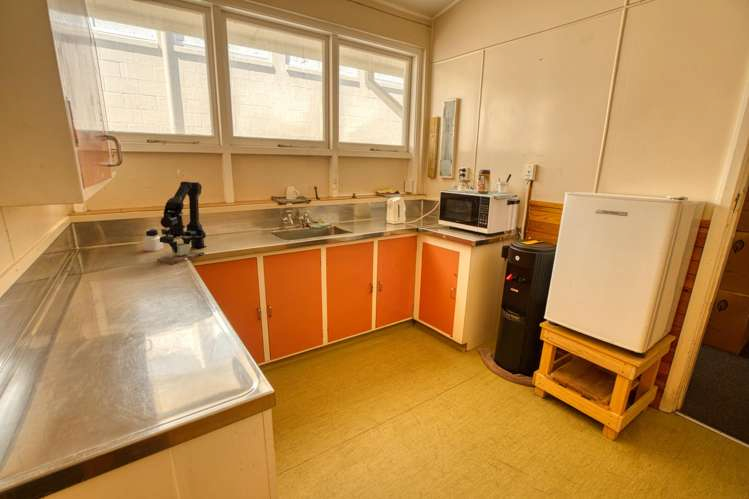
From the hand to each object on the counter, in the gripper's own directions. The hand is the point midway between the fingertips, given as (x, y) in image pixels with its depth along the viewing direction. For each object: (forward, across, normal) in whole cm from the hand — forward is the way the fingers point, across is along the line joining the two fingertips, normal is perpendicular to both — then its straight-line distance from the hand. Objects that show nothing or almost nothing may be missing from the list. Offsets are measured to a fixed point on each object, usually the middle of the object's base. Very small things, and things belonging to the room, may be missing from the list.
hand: (180, 251), depth 192 cm
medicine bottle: (+4, -5, -29) cm, 30 cm away
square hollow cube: (+1, 0, 0) cm, 1 cm away
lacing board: (+4, 0, 0) cm, 4 cm away
